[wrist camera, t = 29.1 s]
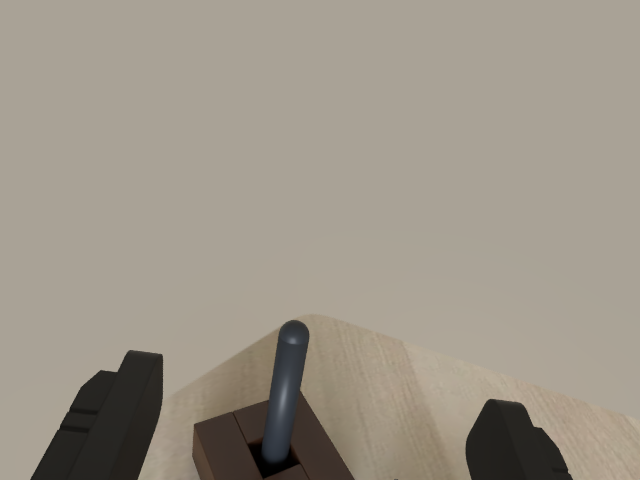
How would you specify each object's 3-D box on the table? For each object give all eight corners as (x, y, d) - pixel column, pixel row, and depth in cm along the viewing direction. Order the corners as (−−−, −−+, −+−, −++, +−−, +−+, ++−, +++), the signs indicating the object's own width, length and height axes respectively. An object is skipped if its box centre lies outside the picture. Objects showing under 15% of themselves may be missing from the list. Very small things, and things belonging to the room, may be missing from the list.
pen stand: (232, 571, 28) (237, 540, 26) (191, 455, 33) (193, 423, 32) (346, 514, 32) (358, 484, 30) (293, 419, 37) (299, 389, 36)
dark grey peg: (262, 501, 31) (290, 333, 27) (251, 480, 33) (275, 316, 28) (287, 491, 32) (317, 328, 28) (275, 471, 34) (302, 312, 29)
